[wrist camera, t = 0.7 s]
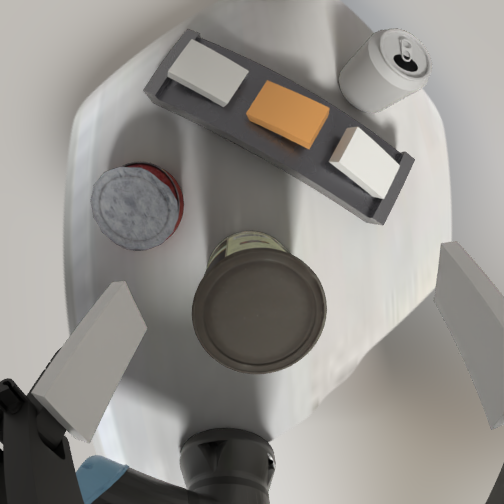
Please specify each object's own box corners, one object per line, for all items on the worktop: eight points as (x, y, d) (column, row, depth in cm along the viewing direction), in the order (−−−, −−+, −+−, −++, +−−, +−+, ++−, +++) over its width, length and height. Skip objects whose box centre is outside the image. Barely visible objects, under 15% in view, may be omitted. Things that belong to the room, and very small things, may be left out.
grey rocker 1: (388, 164, 32) (400, 165, 30) (372, 196, 32) (383, 199, 30) (346, 127, 29) (357, 126, 27) (328, 161, 30) (339, 162, 28)
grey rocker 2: (243, 76, 29) (249, 71, 28) (223, 107, 30) (227, 103, 28) (189, 45, 27) (191, 38, 25) (167, 76, 27) (167, 71, 25)
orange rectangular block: (328, 116, 29) (329, 108, 27) (309, 149, 29) (309, 143, 27) (269, 89, 30) (267, 80, 28) (249, 121, 30) (245, 113, 28)
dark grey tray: (396, 163, 35) (415, 159, 31) (366, 222, 36) (383, 225, 32) (192, 46, 32) (187, 28, 27) (153, 103, 33) (143, 90, 28)
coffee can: (232, 328, 38) (233, 393, 24) (191, 256, 36) (166, 288, 22) (306, 290, 37) (345, 338, 23) (269, 215, 36) (292, 223, 22)
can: (335, 107, 34) (376, 72, 22) (337, 58, 33) (372, 13, 21) (388, 120, 35) (440, 96, 23) (387, 72, 33) (434, 37, 22)
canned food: (191, 198, 39) (216, 223, 31) (135, 249, 39) (146, 289, 31) (135, 133, 33) (144, 140, 25) (75, 192, 32) (65, 218, 24)
